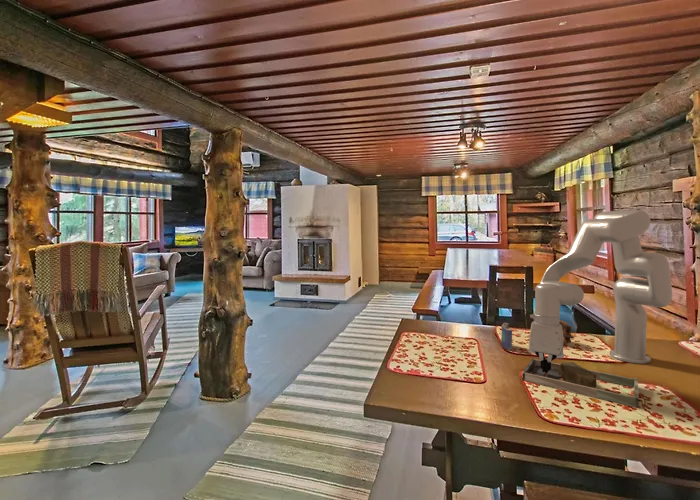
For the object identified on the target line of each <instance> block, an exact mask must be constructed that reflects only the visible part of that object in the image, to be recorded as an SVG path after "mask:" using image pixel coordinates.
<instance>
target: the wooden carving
mask: <svg viewBox="0 0 700 500" xmlns="http://www.w3.org/2000/svg"><path fill="white" fill-rule="evenodd" d="M559 324H561V325H562V330H563V341H564V344H565V345H567V344H570V343H572V340H571V339H575V336H574V335H572V333H571V332H572V330H573V329H572V326H571V325H569V324H568V323H567V322H566V321H565V320H562V319H560V322H559Z"/></svg>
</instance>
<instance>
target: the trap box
mask: <svg viewBox="0 0 700 500" xmlns="http://www.w3.org/2000/svg"><path fill="white" fill-rule="evenodd" d="M560 364H561V363H558V362H557V363H556V362H553V361H551V370H549V371H548V373H546V372H542V369H541V360H540V359H537V358H532V359H531V360H530V361H529V363H528V364H527V365H526V367H525V369H523V372H522V374H521V375H522V376H521V377H522V381H526V382H529V383H533V384H537V385H538V384H539V385H542V386H547V387H550V388H553V389H554V388H555V389H559V390H563V391H566V392H567V391H568V392H572V393H576V394H579V395H584V396H587V397H588V396H589V397H591V398H595V399H596V398H597V399H599V400H600V399H601V400H605V401H609V402H613V403H617V404H621V405H624V406H629V407H634V408H639V405H640V404H639V402H640V400H639V399H640V396H639V395H640V394H639V381H638V377H635V376H634V378H631V377H628V376H627V377H626V376H622V375H617V374H611V373H607V372H602V371H597V370H591V369H587V370H588V371H590V372H591V373H593V374H595V375H596V381H602V380H603V382H607V383H612V384H617V385H622V386H625V387H630V388H631V387H632V388H633V391H634V392H633V393H634V394H633V395H634V396H630V395H625V394H621V393H618V392H612V391H608V390H604V389H598V388H597V387H596V388H591V387H587V386H582V385H578V384H573V383H570V382H569V381H566V380H565V381H564V380H560V378H561V376H560V375H559V374H558V369H559V365H560Z"/></svg>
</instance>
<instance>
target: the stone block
mask: <svg viewBox="0 0 700 500" xmlns="http://www.w3.org/2000/svg"><path fill="white" fill-rule="evenodd" d="M559 364H560V365H559V369H558V374H559V375H560V378H563V379H564V380H565V381H566V382H569V383H573V384H578V385H582V386H587V387H591V388H596V389H597V386H598V385H597V383H598V382H597V379H596V375H595V374H593V373H591V372H590V371H588V370H589V369H587V368H584V367H583V366H581V365H579V364H578V363H575V362H574V361H567V362H565V361H564V362H563V361H562V362H561V363H559Z"/></svg>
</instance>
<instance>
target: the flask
mask: <svg viewBox="0 0 700 500" xmlns="http://www.w3.org/2000/svg"><path fill="white" fill-rule="evenodd" d="M500 345H501V347H502V348H503V349H504V350H507V351H508V350H510V351H512V350H513V329H512V328H510V327H509V323H508V322H503V324H501V341H500Z"/></svg>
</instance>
